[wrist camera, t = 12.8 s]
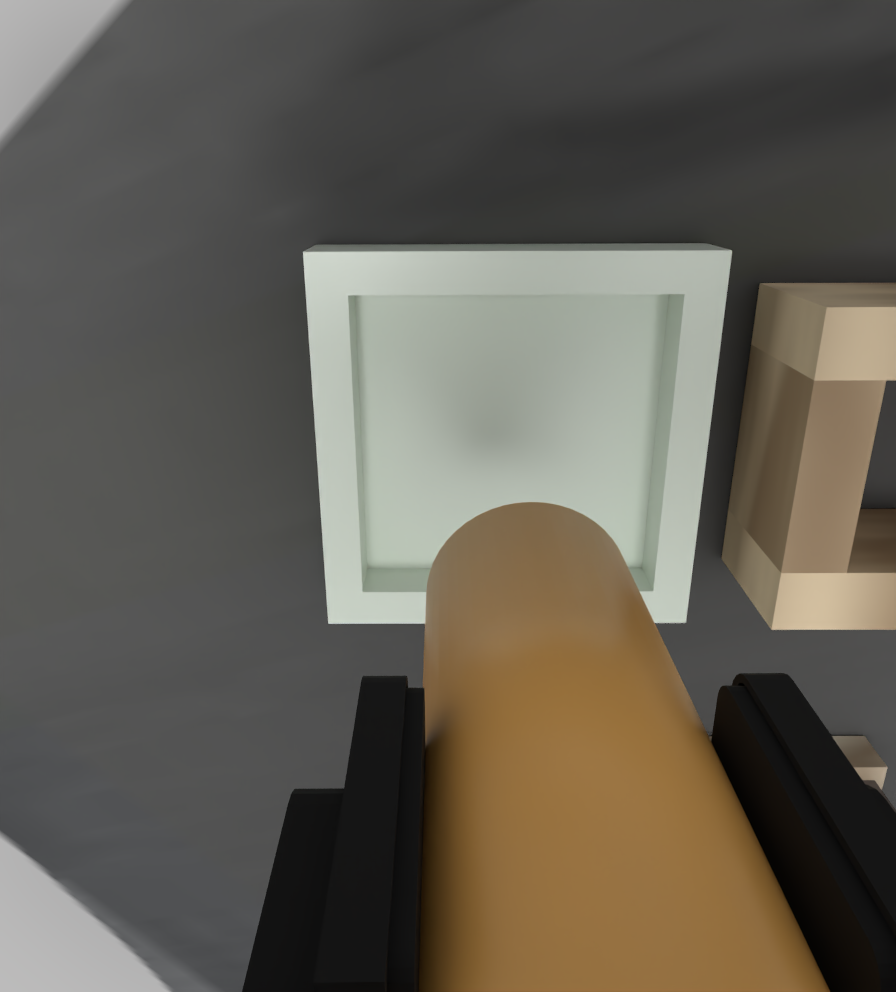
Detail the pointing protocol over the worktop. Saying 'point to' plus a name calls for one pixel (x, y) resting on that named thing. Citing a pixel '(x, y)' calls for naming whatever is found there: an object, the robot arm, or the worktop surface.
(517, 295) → the tray
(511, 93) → the worktop surface
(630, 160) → the worktop surface
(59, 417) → the worktop surface
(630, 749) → the plug
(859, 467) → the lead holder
